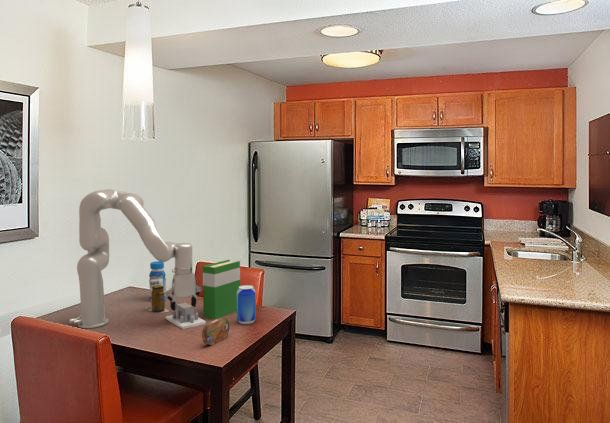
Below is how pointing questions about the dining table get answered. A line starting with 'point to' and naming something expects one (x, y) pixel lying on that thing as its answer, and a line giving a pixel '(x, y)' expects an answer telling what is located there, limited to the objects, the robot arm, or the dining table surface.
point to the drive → (184, 311)
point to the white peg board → (184, 325)
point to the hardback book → (220, 288)
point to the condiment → (158, 300)
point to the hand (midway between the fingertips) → (183, 308)
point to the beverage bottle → (157, 276)
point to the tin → (215, 331)
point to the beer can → (246, 304)
